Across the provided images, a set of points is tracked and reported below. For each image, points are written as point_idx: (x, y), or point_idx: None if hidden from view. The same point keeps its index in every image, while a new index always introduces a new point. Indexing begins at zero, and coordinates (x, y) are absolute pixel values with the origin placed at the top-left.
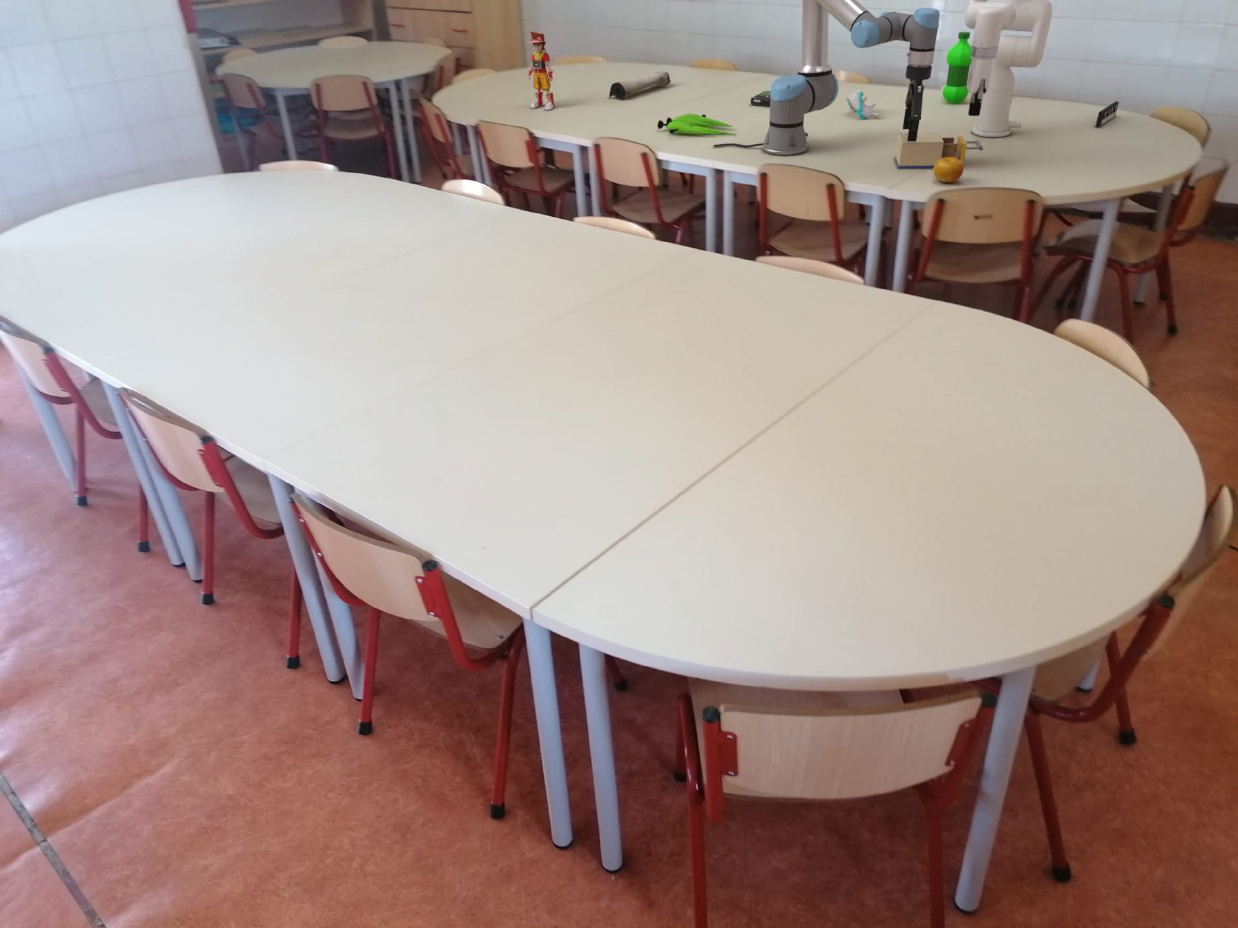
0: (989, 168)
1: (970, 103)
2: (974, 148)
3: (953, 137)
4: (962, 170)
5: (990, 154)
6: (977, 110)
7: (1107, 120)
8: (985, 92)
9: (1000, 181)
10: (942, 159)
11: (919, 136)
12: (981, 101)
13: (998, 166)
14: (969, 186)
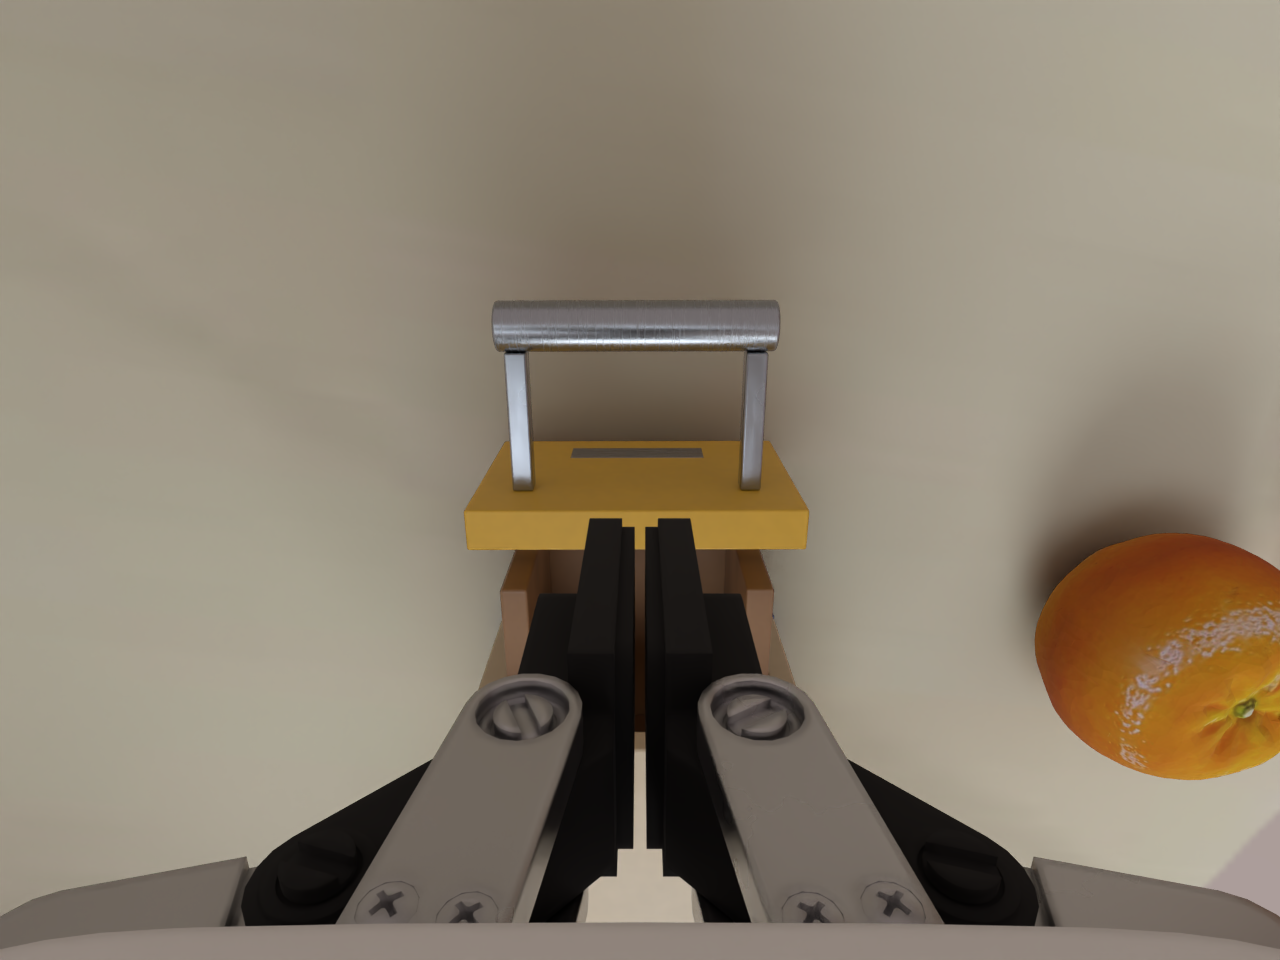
0: (808, 201)
1: (617, 844)
2: (762, 396)
3: (507, 598)
4: (1265, 563)
5: (331, 98)
6: (740, 628)
7: None
8: (1036, 934)
9: (1216, 172)
10: (1208, 765)
11: (603, 917)
12: (808, 715)
13: (752, 95)
14: (1269, 459)
